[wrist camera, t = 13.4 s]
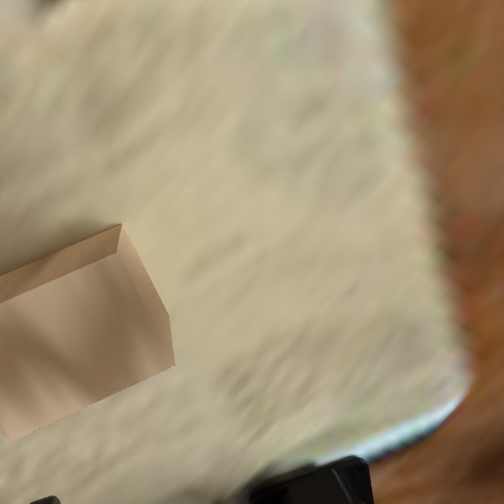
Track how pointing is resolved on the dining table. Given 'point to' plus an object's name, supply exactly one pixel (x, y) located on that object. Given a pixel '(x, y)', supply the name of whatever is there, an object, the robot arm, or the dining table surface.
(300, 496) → the robot arm
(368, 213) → the dining table surface
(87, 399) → the wood block
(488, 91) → the dining table surface
